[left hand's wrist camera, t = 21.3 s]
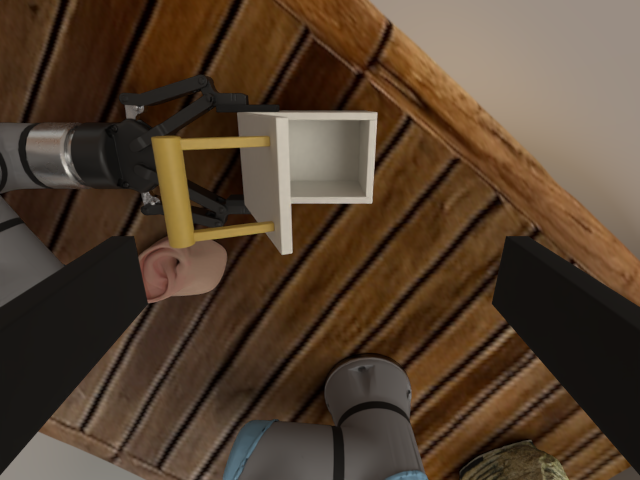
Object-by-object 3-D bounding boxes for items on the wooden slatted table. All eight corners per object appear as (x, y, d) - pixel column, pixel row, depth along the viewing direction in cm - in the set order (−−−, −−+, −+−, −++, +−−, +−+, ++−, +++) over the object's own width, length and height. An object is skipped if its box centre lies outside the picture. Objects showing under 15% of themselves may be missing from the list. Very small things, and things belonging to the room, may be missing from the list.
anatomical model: (219, 243, 48) (220, 314, 52) (227, 233, 51) (227, 300, 55) (122, 235, 47) (131, 306, 51) (136, 225, 51) (143, 293, 55)
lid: (288, 117, 23) (145, 119, 20) (292, 253, 26) (172, 272, 23) (245, 112, 36) (155, 113, 33) (252, 204, 39) (171, 212, 36)
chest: (366, 110, 45) (377, 112, 36) (362, 185, 49) (372, 203, 40) (258, 110, 45) (242, 112, 36) (262, 184, 49) (249, 203, 40)
